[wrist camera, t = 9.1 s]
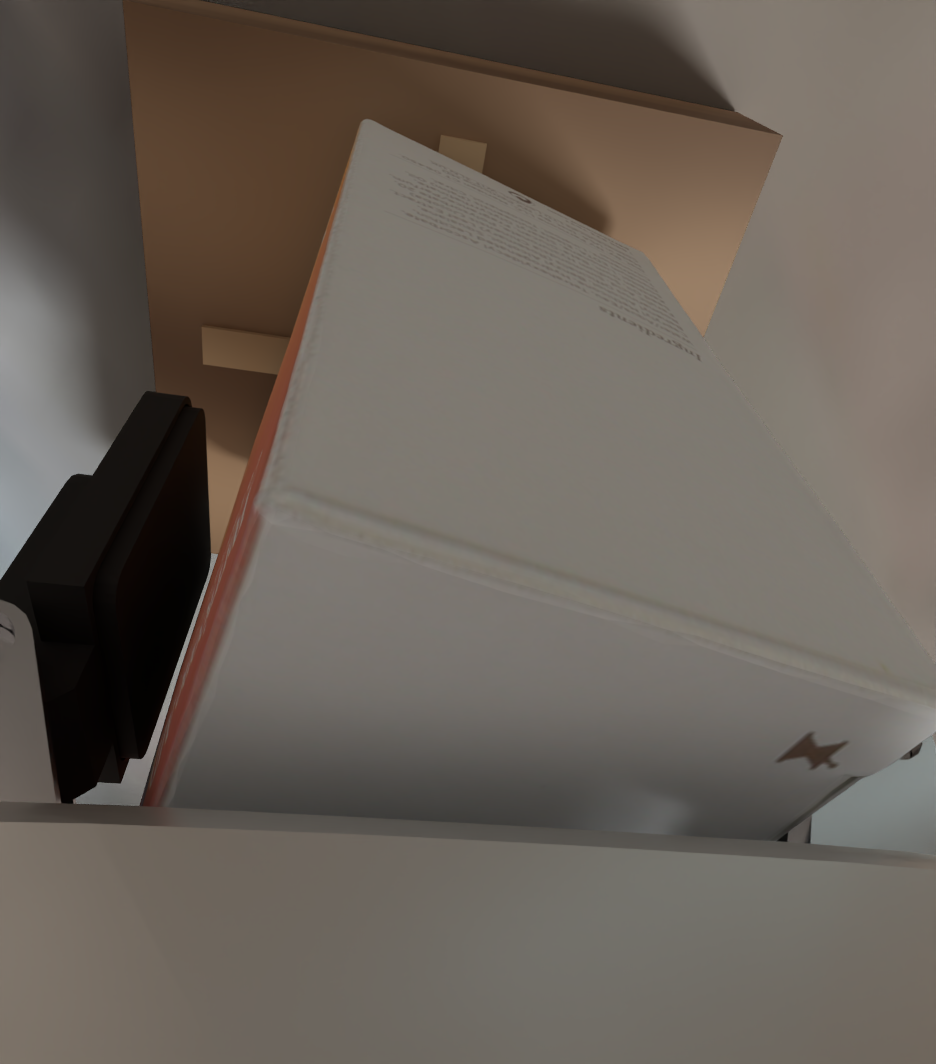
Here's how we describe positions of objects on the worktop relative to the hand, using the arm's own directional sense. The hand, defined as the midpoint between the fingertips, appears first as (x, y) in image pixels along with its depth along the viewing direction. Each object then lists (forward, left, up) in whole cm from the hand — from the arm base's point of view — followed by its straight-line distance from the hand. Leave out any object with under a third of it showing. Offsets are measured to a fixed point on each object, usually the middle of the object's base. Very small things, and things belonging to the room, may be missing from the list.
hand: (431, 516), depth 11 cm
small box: (0, 0, -5) cm, 5 cm away
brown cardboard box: (0, 0, -8) cm, 8 cm away
